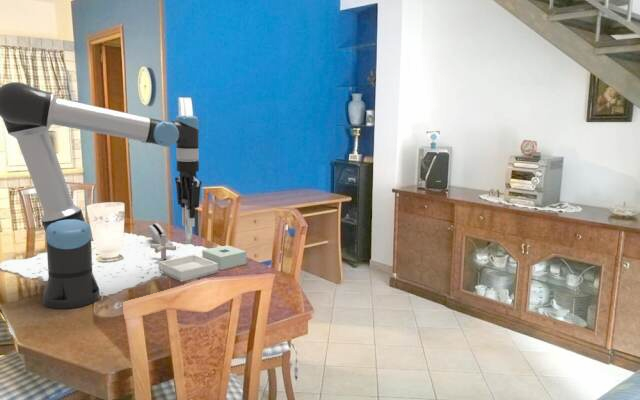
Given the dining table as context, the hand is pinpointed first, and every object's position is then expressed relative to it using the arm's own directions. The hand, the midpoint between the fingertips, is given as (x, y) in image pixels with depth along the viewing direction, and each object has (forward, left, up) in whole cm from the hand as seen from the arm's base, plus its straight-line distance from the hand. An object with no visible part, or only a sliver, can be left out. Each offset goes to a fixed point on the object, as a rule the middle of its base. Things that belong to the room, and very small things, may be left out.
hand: (188, 225), depth 169 cm
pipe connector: (+1, +19, -17) cm, 26 cm away
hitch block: (+16, 0, -17) cm, 23 cm away
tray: (0, 0, -17) cm, 17 cm away
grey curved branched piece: (+12, +41, -18) cm, 46 cm away
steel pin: (0, 0, -6) cm, 6 cm away
